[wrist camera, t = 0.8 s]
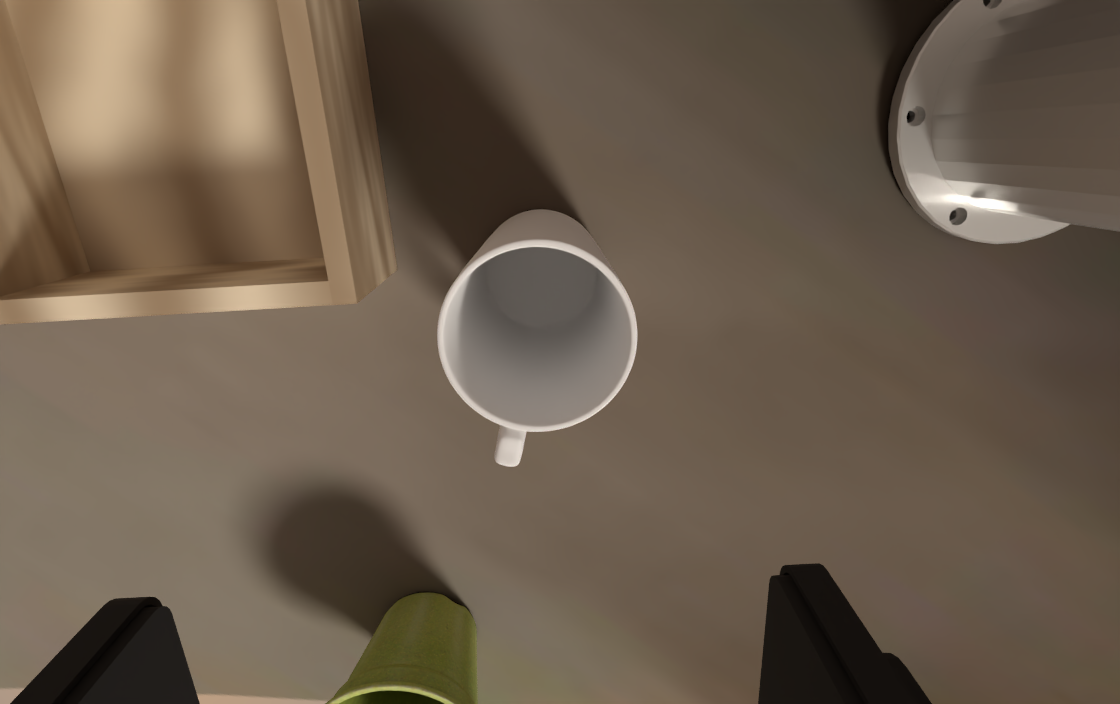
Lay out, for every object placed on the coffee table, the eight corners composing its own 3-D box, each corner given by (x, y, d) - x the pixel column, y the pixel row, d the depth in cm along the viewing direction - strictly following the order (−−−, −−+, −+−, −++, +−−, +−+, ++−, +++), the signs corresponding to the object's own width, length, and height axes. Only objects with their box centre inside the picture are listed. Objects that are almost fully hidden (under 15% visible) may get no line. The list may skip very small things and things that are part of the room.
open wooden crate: (344, -96, 26) (274, -176, 20) (397, 269, 31) (357, 303, 25) (-24, -74, 26) (-218, -147, 20) (90, 287, 31) (-31, 326, 25)
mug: (492, 188, 30) (457, 215, 19) (621, 221, 31) (663, 266, 19) (454, 370, 33) (405, 488, 22) (571, 397, 34) (583, 524, 23)
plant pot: (380, 693, 41) (338, 831, 33) (336, 582, 38) (278, 704, 30) (515, 671, 41) (506, 805, 32) (482, 557, 37) (463, 673, 29)
